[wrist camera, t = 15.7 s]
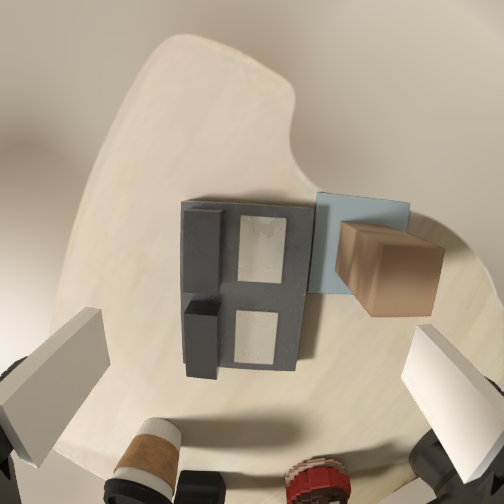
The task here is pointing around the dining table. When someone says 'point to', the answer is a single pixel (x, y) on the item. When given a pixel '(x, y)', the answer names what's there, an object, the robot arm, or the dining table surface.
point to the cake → (318, 483)
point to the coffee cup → (147, 466)
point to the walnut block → (388, 269)
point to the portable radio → (200, 488)
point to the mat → (327, 233)
